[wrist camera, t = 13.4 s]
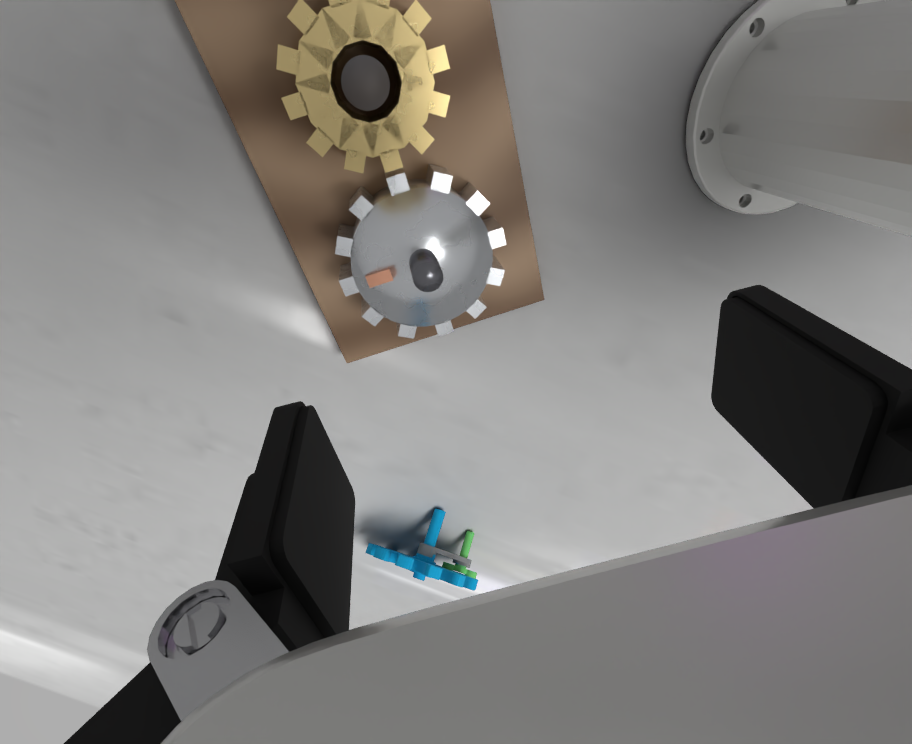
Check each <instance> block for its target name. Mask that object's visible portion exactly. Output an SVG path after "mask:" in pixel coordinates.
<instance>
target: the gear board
mask: <svg viewBox="0 0 912 744" xmlns="http://www.w3.org/2000/svg"><path fill="white" fill-rule="evenodd" d="M303 1H304V2H305V3H306V4H307V5H308V6H309V7H310V8H311V9H312V10H313V11H314V12H315V13H316V14H317V15H318V14H319V12H320V11H321V9H322V8H324V7H327V6H330V4H329V1H328V0H303ZM414 1H415V0H390V4H389V7H392V8H395V9H397V10H398V11H399V12H400V13H401V14H402V16H403V15H404V14H405V13H406V11H407V10H408V9H409V8H410V6H411V5H412V4H413V2H414ZM417 1H418V2H419V4H420V5H421V6H422V7H423V9H424V10H425V11H426V12H427V13H428V15H429V16H430V17H431V18H432V19H431V20H430V21H429V23H428V24H427V25H426V27H425V28H424V29H423V30H422V32H421V33H420V34H419V36H420V37H421V38H422V39H423V40H424V41H425V45H426V49H427V50H430V49H433V48H436V47H439V46H442V45H445V49H446V53H447V58H448V62H449V66H450V69H447V70H444V71H441V72H438V73H435V74H433V77H434V81H435V84H434V89H433V91H436V92H439V93H443V94H446V95H449V96H450V99H449V104H448V108H447V113H446V117H442V116H438V115H435V114H431V113H429V114H428V118H427V121H426V122H425V124H424V125H423V126H422V127H423V128H424V129H425V130H426V131H427V132H428V133H429V134H430V135H431V136H432V137H433V138H434V139H435V140H434V141H433V142H432V143H431V145H430V146H429V147H428V148H427V149H426V150H425V152H424V153H423V154H421V153H420V152H419V151H418V150H417V149H416V148H415V147H414V146H413V145H412V144H411V143H410V142H409V143H408V144H407V145H406V146H405V147H404V148H401V149H398V151H399V155H400V158H401V161H402V164H403V170H404V172H405V175H406V179H407V180H409V179H425V178H426V174H427V169H428V164H432V165H436V166H440V167H443V168H446V169H447V170H448V171H449V172H450V173H451V175H452V176H453V178H452V182H451V186H450V187H451V188H452V189H454V190H455V191H457V192H458V193H459V192H460V191H461V190H462V189H463V187H464V186H465V185H466V184H467V183H468V182H470V183H471V184H472V185H473V186H474V187H475V188H476V189H477V190H478V192H479V193H480V194H481V195H482V196H483V197H484V198H485V199H486V200H487V201H488V202H489V203H490V205H489V206H488V207H487V208H486V209H485V210H484V211H483V212H482V213H481V214H480V215H479V216H480V217H481V219H482V220H483V219H486V218H489V217H492V216H493V217H494V219H495V220H496V221H497V222H498V223H499V224H500V225H501V226H502V227H503V231H504V236H505V240H506V245H504V246H500V247H497V248H494V249H492V251H493V256H495V257H496V258H497V260H498V261H499V263H500V264H501V265H502V267H503V268H504V270H505V272H504V275H503V278H502V281H501V285H500V286H497V285H491V284H486V286H485V288H484V290H483V292H482V293H481V297H482V299H483V301H484V303H485V305H486V307H487V308H486V309H485V310H484V311H483V312H482V313H481V314H480V315H479V316H478V317H477V318H476V319H475V318H474V317H472V316H471V315H470V314H469V313H468V312H467V311H465V312H463V313H462V314H461V315H459V316H457V317H456V318H454V319H452V320H451V323H452V327H453V329H455V328H458V327H461V326H464V325H467V324H471V323H474V322H477V321H480V320H483V319H486V318H489V317H492V316H495V315H498V314H502V313H505V312H508V311H511V310H514V309H517V308H520V307H523V306H526V305H529V304H533V303H536V302H539V301H542V300H544V295H543V290H542V284H541V279H540V273H539V268H538V262H537V257H536V251H535V246H534V240H533V235H532V229H531V224H530V218H529V213H528V207H527V202H526V196H525V191H524V185H523V180H522V174H521V169H520V163H519V158H518V152H517V147H516V141H515V136H514V130H513V125H512V119H511V114H510V108H509V103H508V97H507V92H506V86H505V81H504V75H503V70H502V64H501V59H500V53H499V48H498V42H497V37H496V31H495V26H494V20H493V15H492V9H491V4H490V0H417ZM175 2H176V4H177V6H178V9H179V11H180V13H181V15H182V17H183V19H184V21H185V23H186V25H187V28H188V30H189V32H190V34H191V36H192V38H193V40H194V42H195V44H196V46H197V49H198V51H199V53H200V55H201V57H202V59H203V61H204V63H205V65H206V68H207V70H208V72H209V74H210V76H211V78H212V80H213V82H214V84H215V86H216V89H217V91H218V93H219V95H220V97H221V99H222V101H223V103H224V105H225V108H226V110H227V112H228V114H229V116H230V118H231V120H232V122H233V124H234V127H235V129H236V131H237V133H238V135H239V137H240V139H241V141H242V143H243V145H244V148H245V150H246V152H247V154H248V156H249V158H250V160H251V162H252V164H253V167H254V169H255V171H256V173H257V175H258V177H259V179H260V181H261V183H262V186H263V188H264V190H265V192H266V194H267V196H268V198H269V200H270V202H271V204H272V207H273V209H274V211H275V213H276V215H277V217H278V219H279V221H280V223H281V226H282V228H283V230H284V232H285V234H286V236H287V238H288V240H289V242H290V244H291V247H292V249H293V251H294V253H295V255H296V257H297V259H298V261H299V263H300V266H301V268H302V270H303V272H304V274H305V276H306V278H307V280H308V282H309V285H310V287H311V289H312V291H313V293H314V295H315V297H316V299H317V301H318V303H319V306H320V308H321V310H322V312H323V314H324V316H325V318H326V320H327V322H328V325H329V327H330V329H331V331H332V333H333V335H334V337H335V339H336V341H337V343H338V346H339V348H340V350H341V352H342V354H343V356H344V358H345V360H346V362H347V363H350V362H353V361H356V360H359V359H362V358H365V357H368V356H371V355H374V354H378V353H381V352H384V351H387V350H390V349H393V348H396V347H399V346H402V345H405V344H409V343H412V342H415V341H418V340H421V339H424V338H427V337H430V336H433V335H436V334H438V333H437V330H436V327H435V325H433V326H424V327H417V328H416V333H415V337H414V339H413V338H407V337H400V336H398V333H397V326H396V322H394V321H391V320H389V319H387V318H385V317H383V318H382V320H381V321H380V322H379V323H378V324H377V325H376V326H373V325H372V324H371V323H369V322H368V321H367V320H365V319H364V318H363V317H362V299H363V297H362V295H361V294H360V292H358V293H355V294H352V295H349V296H346V297H345V294H344V292H343V290H342V287H341V285H340V283H339V273H340V266H341V265H344V264H347V263H350V262H351V258H350V257H347V256H342V255H337V254H335V250H336V242H337V235H338V228H339V224H343V225H348V226H353V227H354V225H355V222H356V220H357V216H355V215H354V214H353V213H352V212H351V211H350V210H349V204H350V199H351V197H352V196H353V195H354V194H355V193H356V191H357V190H358V189H359V188H360V187H361V186H362V187H363V188H365V189H366V190H367V191H368V192H369V193H370V194H371V195H372V196H374V195H375V194H376V193H378V192H379V191H380V190H382V189H384V188H385V187H387V186H388V183H387V180H386V177H385V172H384V167H383V164H382V161H381V158H380V156H376V157H374V158H372V157H369V156H366V159H365V166H364V172H363V173H359V172H354V171H350V170H346V169H344V166H345V158H346V151H345V150H341V149H339V148H338V147H336V146H335V145H334V144H333V145H332V146H331V147H330V149H329V150H328V151H327V153H326V154H325V155H324V156H323V157H322V156H320V155H319V154H318V153H317V152H316V151H315V150H314V149H313V148H312V147H310V146H309V145H308V144H307V143H306V142H307V141H308V140H309V138H310V137H311V136H312V134H313V133H314V132H315V130H316V129H317V128H316V127H315V126H314V125H313V124H312V123H311V122H310V119H309V117H308V115H306V116H302V117H299V118H296V119H293V120H290V118H289V116H288V113H287V111H286V108H285V106H284V103H283V101H282V99H281V98H282V97H285V96H288V95H291V94H294V93H298V92H299V91H298V89H297V86H296V84H295V83H296V75H295V74H291V73H288V72H284V71H281V70H277V69H276V66H277V51H278V44H279V45H282V46H286V47H289V48H292V49H296V50H298V47H299V40H300V39H301V38H302V36H303V35H304V34H303V33H302V32H301V31H300V30H299V29H298V28H297V27H296V26H295V25H294V24H293V23H292V22H291V21H290V20H289V19H288V18H287V16H288V15H289V13H290V12H291V10H292V9H293V8H294V6H295V5H296V3H297V2H298V0H175ZM396 82H397V81H396V77H395V74H394V70H393V67H392V63H391V62H390V61H389V60H388V59H387V58H386V57H385V56H384V54H383V53H382V52H381V51H380V50H379V49H376V48H372V47H369V46H366V45H363V44H362V45H359V46H356V47H353V48H350V49H347V50H346V51H345V53H344V54H343V55H342V57H341V58H340V60H339V61H338V62H337V65H336V73H335V85H336V87H337V90H338V93H339V96H340V99H341V100H342V101H343V102H344V103H345V104H346V105H347V106H348V107H349V108H350V109H351V110H352V111H353V112H356V113H359V114H363V115H366V116H371V115H374V114H377V113H380V112H383V111H384V110H385V109H386V108H387V107H388V105H389V104H390V103H391V102H392V100H393V99H394V94H395V88H396Z"/></svg>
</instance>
